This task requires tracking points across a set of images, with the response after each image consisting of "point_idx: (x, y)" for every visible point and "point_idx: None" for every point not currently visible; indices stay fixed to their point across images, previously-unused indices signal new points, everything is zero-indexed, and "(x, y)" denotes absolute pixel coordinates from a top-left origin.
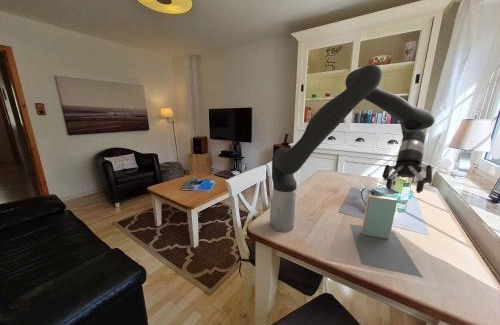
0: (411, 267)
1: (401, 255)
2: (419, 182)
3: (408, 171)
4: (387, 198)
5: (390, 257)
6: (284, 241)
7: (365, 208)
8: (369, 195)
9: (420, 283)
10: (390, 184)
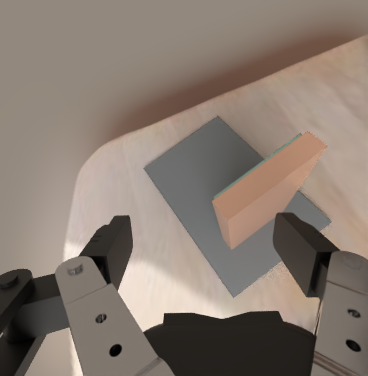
0: (161, 176)
1: (182, 197)
2: (97, 248)
3: (193, 370)
4: (248, 182)
5: (193, 172)
6: (343, 52)
7: (304, 178)
8: (317, 146)
9: (145, 158)
10: (290, 235)
